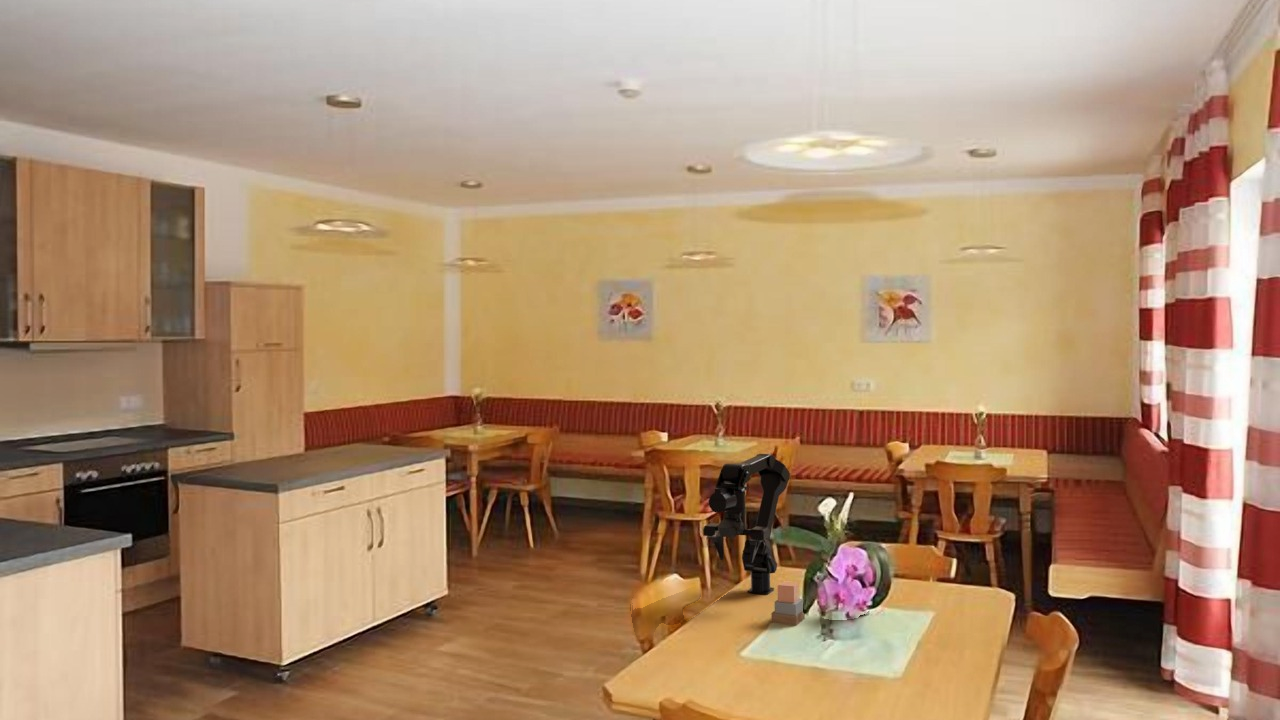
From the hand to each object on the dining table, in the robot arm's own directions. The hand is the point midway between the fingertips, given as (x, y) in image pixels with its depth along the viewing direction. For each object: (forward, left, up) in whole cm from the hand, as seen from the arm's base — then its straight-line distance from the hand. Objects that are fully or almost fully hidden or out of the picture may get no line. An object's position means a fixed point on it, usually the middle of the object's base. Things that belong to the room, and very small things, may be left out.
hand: (736, 561), depth 284 cm
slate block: (+11, +20, -10) cm, 25 cm away
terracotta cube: (+11, +19, -6) cm, 23 cm away
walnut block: (+11, +19, -12) cm, 25 cm away
